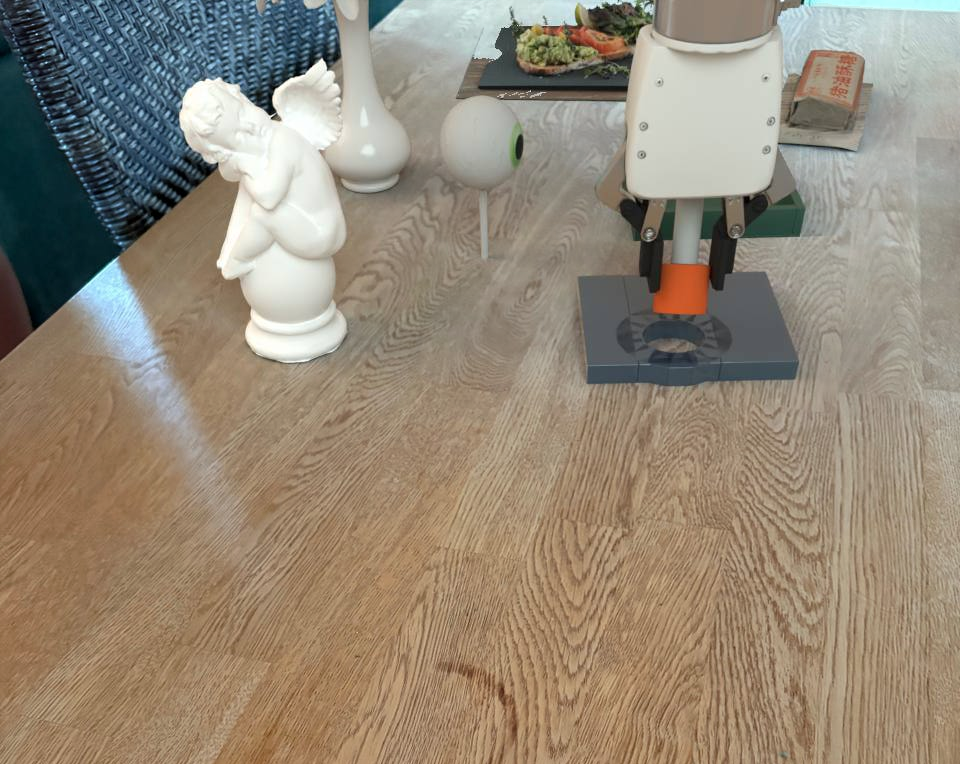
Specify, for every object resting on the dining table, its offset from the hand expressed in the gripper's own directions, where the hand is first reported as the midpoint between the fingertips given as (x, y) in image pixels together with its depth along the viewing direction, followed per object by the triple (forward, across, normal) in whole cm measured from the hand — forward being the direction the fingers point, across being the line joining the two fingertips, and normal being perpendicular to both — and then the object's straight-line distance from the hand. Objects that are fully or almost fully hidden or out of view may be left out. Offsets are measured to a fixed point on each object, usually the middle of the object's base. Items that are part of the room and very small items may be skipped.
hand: (683, 280), depth 77 cm
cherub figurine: (+7, +30, -8) cm, 32 cm away
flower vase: (+7, +28, -37) cm, 47 cm away
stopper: (+2, 0, +1) cm, 2 cm away
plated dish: (+8, 0, -72) cm, 72 cm away
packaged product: (+8, -23, -51) cm, 56 cm away
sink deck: (+8, -1, -3) cm, 8 cm away
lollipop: (+8, +15, -17) cm, 24 cm away
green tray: (+8, -7, -29) cm, 31 cm away
